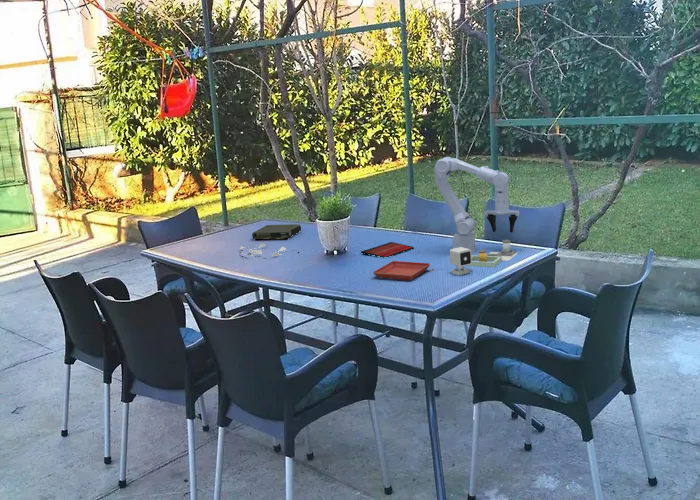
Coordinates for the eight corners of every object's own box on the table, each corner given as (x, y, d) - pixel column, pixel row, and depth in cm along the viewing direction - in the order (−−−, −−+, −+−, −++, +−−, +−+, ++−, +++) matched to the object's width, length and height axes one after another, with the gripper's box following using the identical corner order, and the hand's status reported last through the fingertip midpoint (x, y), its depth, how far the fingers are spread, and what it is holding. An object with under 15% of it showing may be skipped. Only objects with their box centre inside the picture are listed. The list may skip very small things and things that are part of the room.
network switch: (250, 242, 376) (249, 233, 375) (263, 233, 399) (262, 224, 398) (292, 240, 372) (291, 231, 371) (302, 231, 395) (301, 222, 393)
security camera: (459, 276, 276) (458, 252, 274) (449, 273, 282) (448, 249, 280) (472, 273, 279) (471, 249, 276) (462, 270, 285) (461, 246, 283)
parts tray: (463, 268, 287) (463, 261, 286) (472, 262, 295) (472, 255, 295) (494, 270, 280) (494, 262, 280) (502, 263, 289) (501, 256, 288)
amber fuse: (477, 265, 287) (476, 251, 286) (480, 263, 290) (479, 249, 289) (485, 265, 286) (484, 251, 284) (488, 263, 288) (487, 249, 287)
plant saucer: (411, 283, 274) (411, 275, 273) (372, 279, 284) (371, 271, 283) (431, 271, 289) (431, 263, 288) (393, 268, 298) (392, 260, 298)
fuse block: (481, 261, 294) (480, 256, 294) (491, 254, 305) (491, 249, 305) (508, 263, 288) (508, 258, 288) (518, 255, 299) (517, 250, 299)
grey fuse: (501, 255, 298) (501, 241, 296) (504, 253, 301) (503, 239, 299) (509, 255, 296) (508, 241, 295) (511, 253, 299) (511, 239, 298)
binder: (360, 250, 326) (390, 241, 340) (360, 255, 326) (390, 246, 340) (385, 256, 314) (415, 246, 328) (386, 261, 315) (415, 250, 329)
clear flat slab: (306, 252, 344) (305, 245, 343) (267, 263, 328) (266, 256, 327) (263, 244, 369) (262, 238, 368) (225, 254, 353) (224, 248, 352)
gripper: (482, 202, 299) (483, 233, 302) (515, 202, 292) (516, 234, 295) (487, 199, 305) (489, 229, 308) (520, 199, 298) (521, 230, 301)
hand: (502, 231), depth 302 cm, fingers open, 7 cm apart
